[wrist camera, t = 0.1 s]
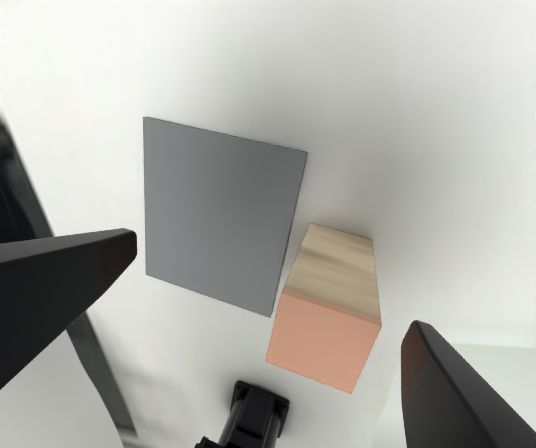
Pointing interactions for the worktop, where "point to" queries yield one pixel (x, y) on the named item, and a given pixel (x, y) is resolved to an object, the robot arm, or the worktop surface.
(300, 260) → the pine block
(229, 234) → the mat
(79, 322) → the worktop surface
